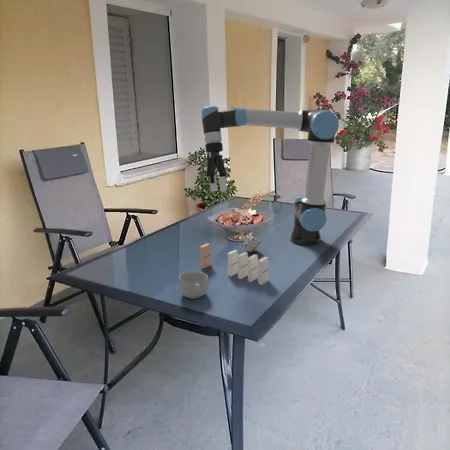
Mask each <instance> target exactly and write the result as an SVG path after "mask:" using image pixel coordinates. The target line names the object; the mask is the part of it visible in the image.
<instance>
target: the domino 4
mask: <svg viewBox="0 0 450 450" xmlns="http://www.w3.org/2000/svg"><path fill="white" fill-rule="evenodd" d="M258 256H259V255H258V254H253V255H251V256H248V258H247V263H248V275H247V282H250V283H253V281H255V280H258V260H259V257H258Z"/></svg>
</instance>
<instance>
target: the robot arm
mask: <svg viewBox="0 0 450 450" xmlns="http://www.w3.org/2000/svg"><path fill="white" fill-rule="evenodd" d="M201 122H202V128H203V140H204V144H205V146H204V147H205V152H206V153H207V154H206V155H207V161H206V162H207V163H206V176H207V177H208V178H209V186H210V192H218V183H217V176H216V170H217V173H218V175H219V177H218V179H219V187H220V192H227V190H228V189H227V179H226V177H227V176H228V174H227V171H226V167H225V162H224V159H223V154H220V153H221V152H223V151H224V148H223V142H222V141H223V138H222V132H221V129H226V128H227V129H228V128H236V127H242V126H243V127H244V126H247V127H249V126H250V127H266V128H277V129H278V128H279V129H291V130H292V129H294V130H295V129H296V130H297V131H298V132H303V133H307V134H308V135H307V142H308V143H309V147H310V148H309V156H308V161H307V162H308V164H307V173H306V181H305V190H304V195H297V196H296V197H294V202H293V204H294V212H293V213H294V215H293V216H294V219H293V220H294V224H293V225H294V226H293V228H292V230H291V233H290V242H291V243H292V244H296V245H300V246H311V245H312V246H313V245H314V246H315V245H318V244H320V243H321V240H322V239H321V238H322V237H321V233H320V230H322V229H323V228H324V227H325V225H326V223H327V220H328V219H327V214H326V207H327V200H325V199H324V196H325V189H326V188H325V187H326V181H327V171H328V164H329V157H330V149H331V146H332V145H333V144H334V143H335V137H336V134H337V133H338V131H339V127H340V124H339V118H338V116H336V114H335V113H333V111H330V110H327V109H307V110H306V109H305V110H304V109H302V110H301V109H300V110H299V111H286V110H285V111H284V110H283V111H282V110H269V109H268V110H267V109H253V108H252V109H251V108H244V107H241V108H240V107H238V108H237V107H230V108H228V109H224V110H219V107H218V106H216V105H215V106H211V105H210V106H206V107H203V108H202V109H201Z"/></svg>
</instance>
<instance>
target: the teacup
mask: <svg viewBox="0 0 450 450" xmlns="http://www.w3.org/2000/svg"><path fill="white" fill-rule="evenodd" d="M208 278H209V276H208V274H207V273H205V272H202V271H195V270H194V271H186V272H183V273H181V274H179V276H178V281H179V291H180V293H181V294H182V295H183V296H184V297H186V298H188V299H191V300H193V299H199V298H202V297H203V296H204V295H206V293H207V290H208V285H209V284H208Z"/></svg>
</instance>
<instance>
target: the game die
mask: <svg viewBox="0 0 450 450" xmlns="http://www.w3.org/2000/svg"><path fill="white" fill-rule="evenodd" d="M260 244H262V242H261V241H260V242H259V240H258V239H257V238H256V235H255V234H254V235H252V236H246V235H245V236H244V241H243V244H241V245H240V247H243V248H244V250H245V251H246V253H248V254H249V253H253V252H256V253H258V248H259V246H260Z"/></svg>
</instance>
